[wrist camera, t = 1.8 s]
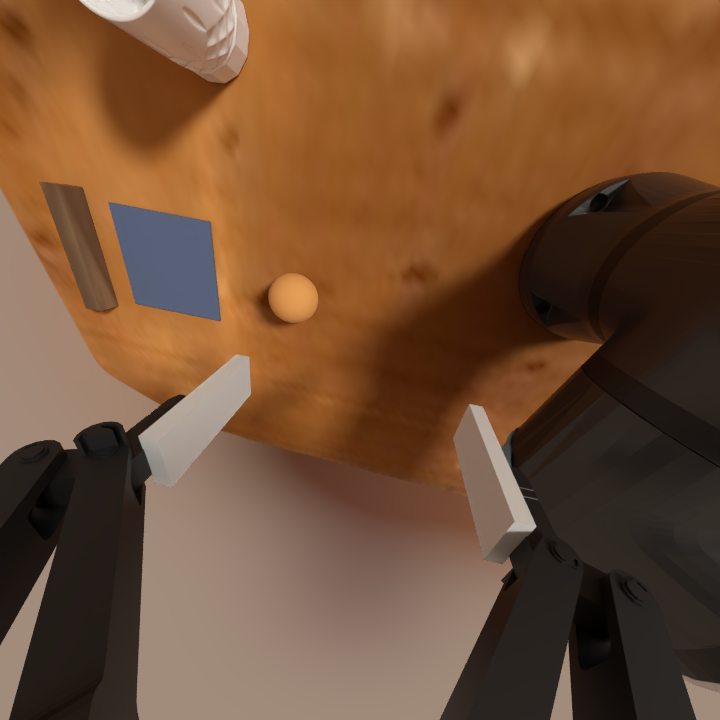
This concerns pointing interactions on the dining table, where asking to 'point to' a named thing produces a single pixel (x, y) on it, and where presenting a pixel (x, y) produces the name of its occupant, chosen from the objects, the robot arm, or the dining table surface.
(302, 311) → the ball
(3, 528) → the robot arm
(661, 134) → the dining table surface
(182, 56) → the white cup
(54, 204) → the brown wooden bar
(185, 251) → the navy mark
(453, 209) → the dining table surface
